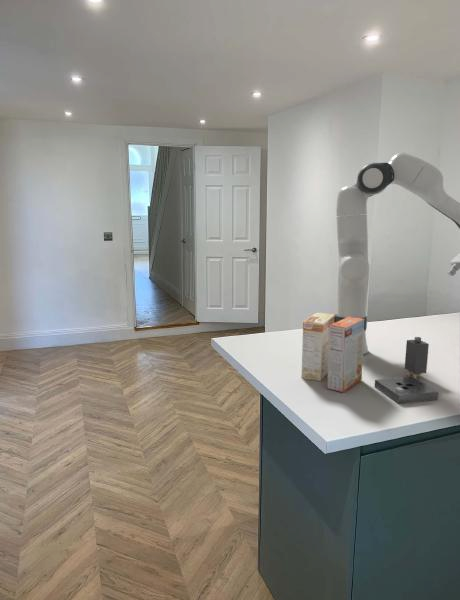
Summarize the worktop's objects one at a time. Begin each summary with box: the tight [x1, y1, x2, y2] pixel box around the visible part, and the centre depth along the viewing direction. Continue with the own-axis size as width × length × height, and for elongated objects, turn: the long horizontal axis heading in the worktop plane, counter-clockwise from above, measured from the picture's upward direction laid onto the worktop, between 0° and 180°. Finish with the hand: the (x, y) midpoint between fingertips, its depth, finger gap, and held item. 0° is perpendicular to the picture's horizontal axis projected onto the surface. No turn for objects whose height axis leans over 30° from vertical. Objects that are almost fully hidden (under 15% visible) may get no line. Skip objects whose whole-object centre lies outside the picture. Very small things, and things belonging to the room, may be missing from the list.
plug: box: [404, 336, 430, 379], centre depth 153 cm, size 6×4×14 cm
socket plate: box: [374, 375, 439, 405], centre depth 140 cm, size 13×13×3 cm
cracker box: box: [326, 317, 364, 394], centre depth 145 cm, size 14×6×21 cm, turn 141°
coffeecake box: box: [301, 312, 336, 382], centre depth 156 cm, size 15×7×20 cm, turn 152°
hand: (456, 274), depth 158 cm, fingers open, 8 cm apart
